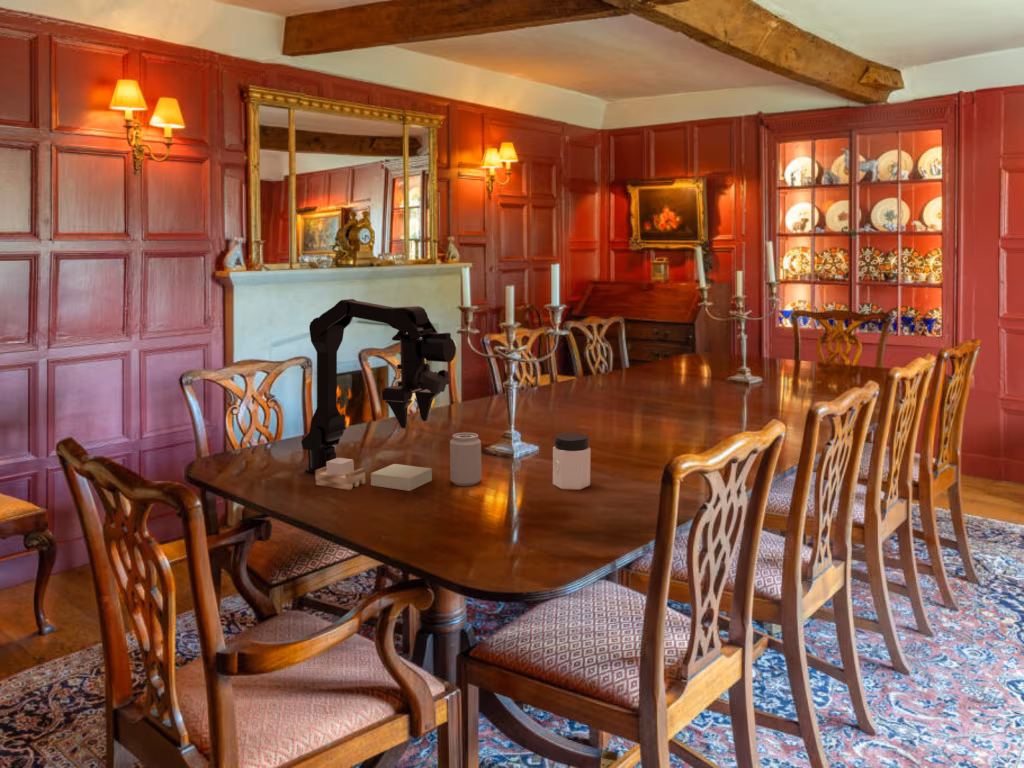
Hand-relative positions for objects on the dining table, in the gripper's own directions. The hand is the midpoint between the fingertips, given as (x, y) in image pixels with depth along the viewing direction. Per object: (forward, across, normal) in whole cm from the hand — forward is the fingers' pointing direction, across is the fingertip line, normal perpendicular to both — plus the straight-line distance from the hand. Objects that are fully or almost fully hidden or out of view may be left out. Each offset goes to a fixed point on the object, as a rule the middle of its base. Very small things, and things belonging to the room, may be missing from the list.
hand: (414, 424), depth 204 cm
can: (+15, +6, -11) cm, 19 cm away
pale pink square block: (+12, -8, +16) cm, 22 cm away
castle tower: (+15, -8, +16) cm, 23 cm away
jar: (+15, +15, -35) cm, 41 cm away
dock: (+15, -1, +3) cm, 15 cm away
